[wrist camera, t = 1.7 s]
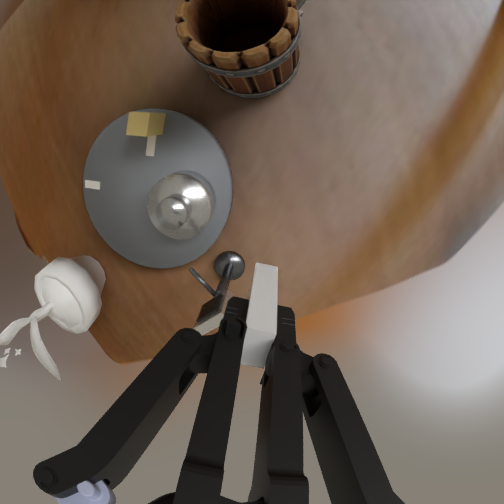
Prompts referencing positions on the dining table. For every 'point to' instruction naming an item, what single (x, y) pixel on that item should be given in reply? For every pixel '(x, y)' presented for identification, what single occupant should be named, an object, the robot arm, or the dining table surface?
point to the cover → (181, 204)
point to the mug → (243, 42)
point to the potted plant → (62, 303)
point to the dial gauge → (218, 291)
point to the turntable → (152, 183)
